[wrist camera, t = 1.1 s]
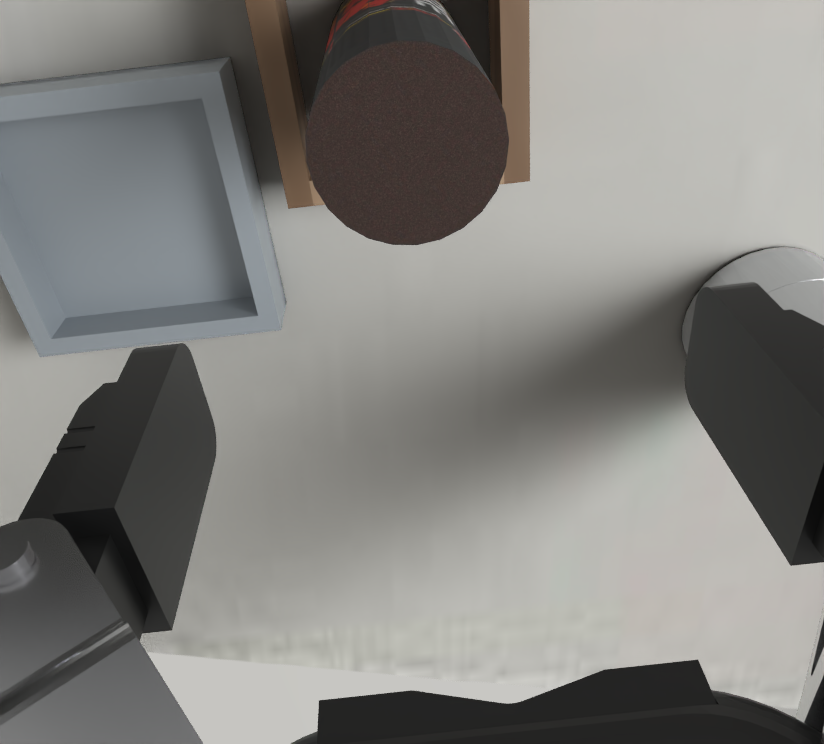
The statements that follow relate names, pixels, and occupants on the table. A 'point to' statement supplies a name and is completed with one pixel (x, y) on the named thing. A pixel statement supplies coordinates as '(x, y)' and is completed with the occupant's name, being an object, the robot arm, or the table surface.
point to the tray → (133, 210)
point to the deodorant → (404, 123)
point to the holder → (289, 109)
